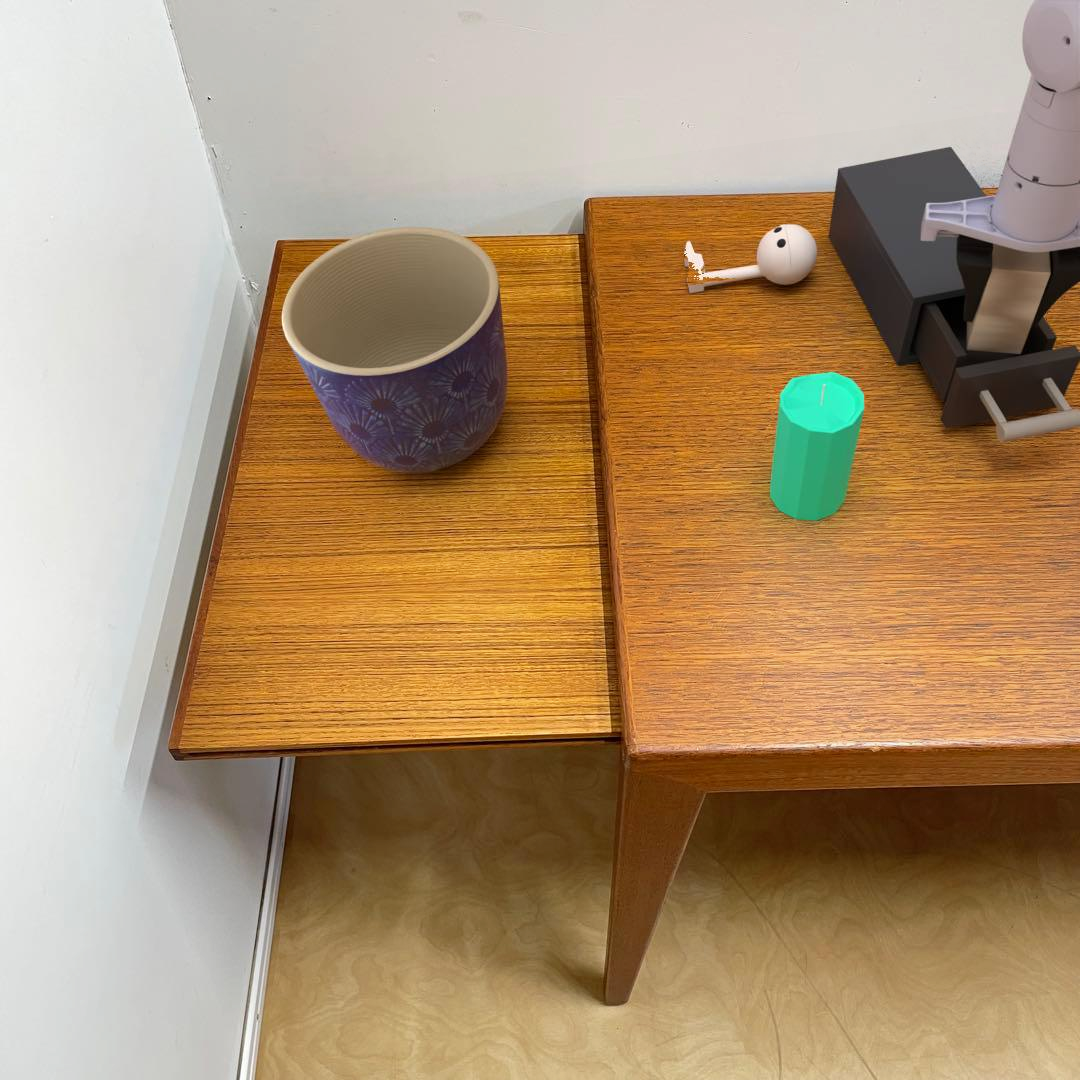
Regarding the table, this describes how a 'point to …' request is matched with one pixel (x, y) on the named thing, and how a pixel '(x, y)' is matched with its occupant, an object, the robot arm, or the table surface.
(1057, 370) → the drawer
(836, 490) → the candle
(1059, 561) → the table surface
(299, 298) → the planter
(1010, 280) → the block
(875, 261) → the cabinet
